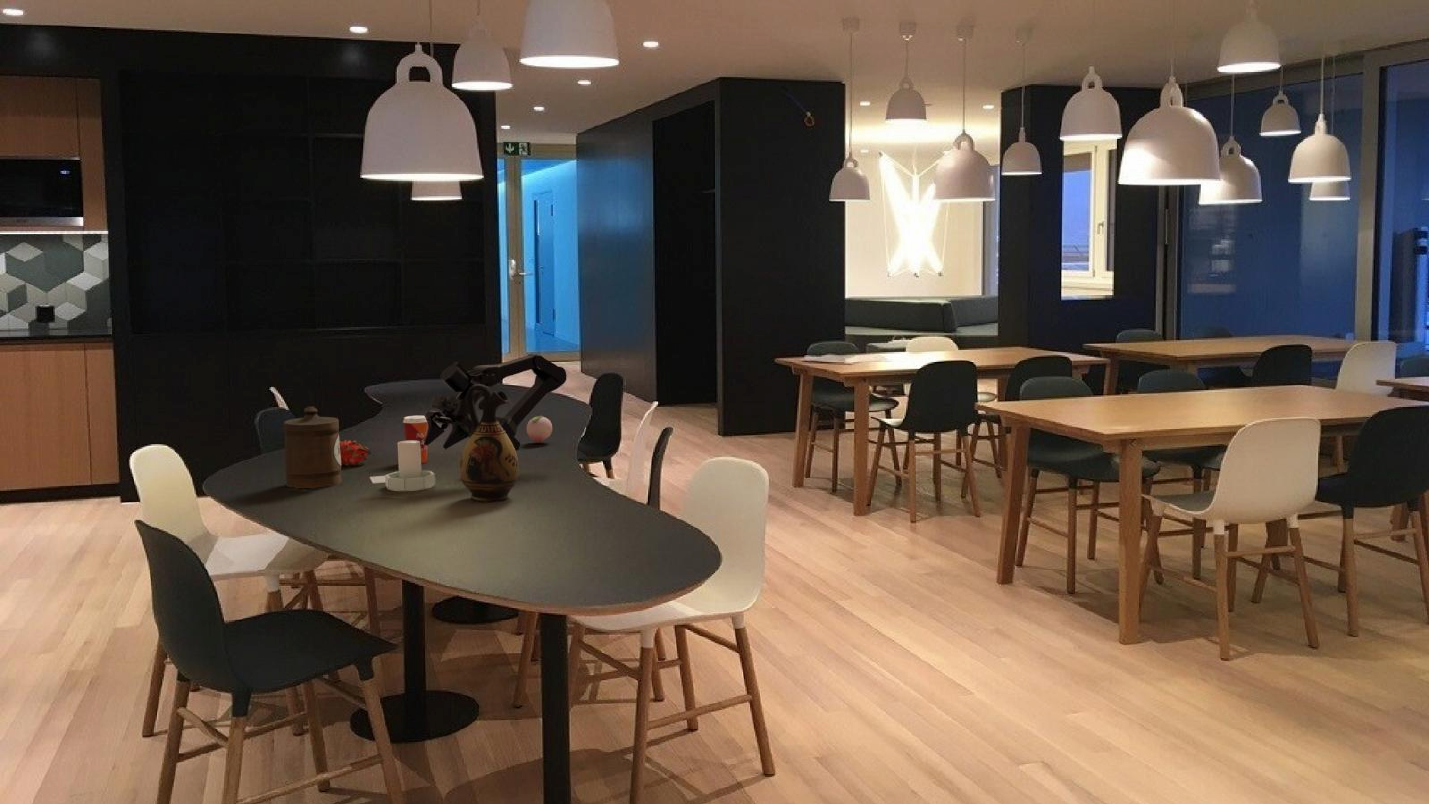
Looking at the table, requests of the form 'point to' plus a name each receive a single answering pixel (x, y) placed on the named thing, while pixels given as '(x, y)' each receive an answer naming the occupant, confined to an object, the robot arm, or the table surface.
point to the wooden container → (312, 451)
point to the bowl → (410, 482)
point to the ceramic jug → (488, 450)
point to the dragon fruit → (352, 453)
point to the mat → (378, 479)
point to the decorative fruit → (539, 428)
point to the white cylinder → (409, 459)
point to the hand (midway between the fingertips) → (434, 446)
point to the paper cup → (417, 432)
